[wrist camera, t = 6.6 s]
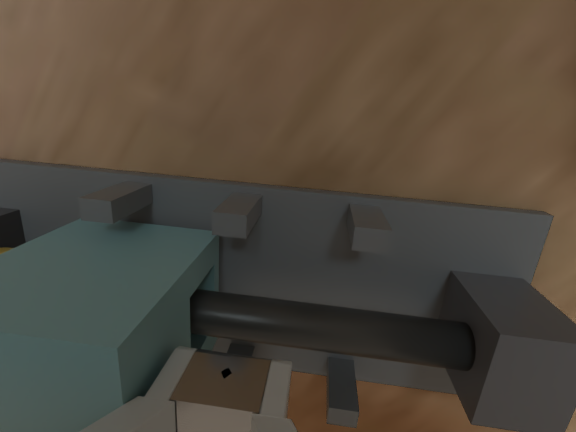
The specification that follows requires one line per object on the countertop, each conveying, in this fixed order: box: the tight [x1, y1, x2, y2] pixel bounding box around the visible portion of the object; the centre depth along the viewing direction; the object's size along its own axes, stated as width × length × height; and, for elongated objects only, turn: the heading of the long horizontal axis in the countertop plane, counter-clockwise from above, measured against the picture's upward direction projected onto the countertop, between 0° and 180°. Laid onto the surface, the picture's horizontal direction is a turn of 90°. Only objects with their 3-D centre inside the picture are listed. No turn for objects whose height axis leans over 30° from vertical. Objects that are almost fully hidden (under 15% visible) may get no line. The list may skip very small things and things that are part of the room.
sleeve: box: [0, 218, 219, 432], centre depth 10 cm, size 4×5×6 cm
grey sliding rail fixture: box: [0, 159, 576, 432], centre depth 10 cm, size 8×22×6 cm, turn 86°
